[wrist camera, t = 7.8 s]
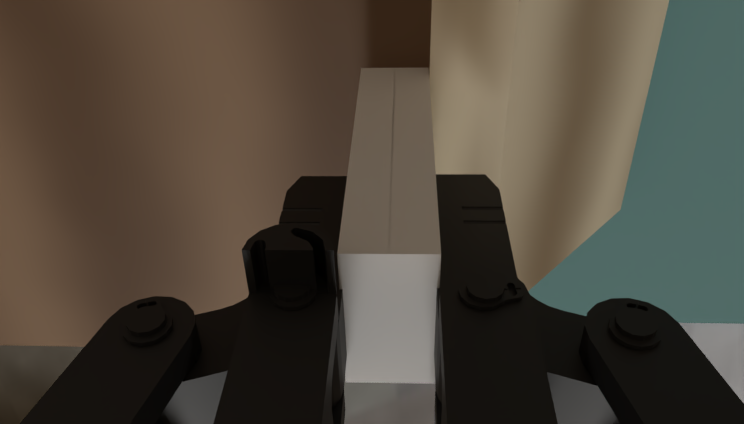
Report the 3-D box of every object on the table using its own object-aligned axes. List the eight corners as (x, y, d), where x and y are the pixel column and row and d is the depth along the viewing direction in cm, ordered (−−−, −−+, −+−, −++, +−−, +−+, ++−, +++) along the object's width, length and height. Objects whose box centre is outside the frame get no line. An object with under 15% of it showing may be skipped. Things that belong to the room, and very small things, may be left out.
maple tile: (622, -165, 16) (705, -158, 15) (563, 185, 22) (620, 209, 21) (435, -121, 12) (530, -108, 11) (422, 292, 18) (483, 329, 17)
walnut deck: (491, -378, 15) (516, -406, 11) (450, 271, 25) (456, 353, 22) (-405, -355, 15) (-621, -376, 12) (-85, 264, 26) (-155, 342, 23)
